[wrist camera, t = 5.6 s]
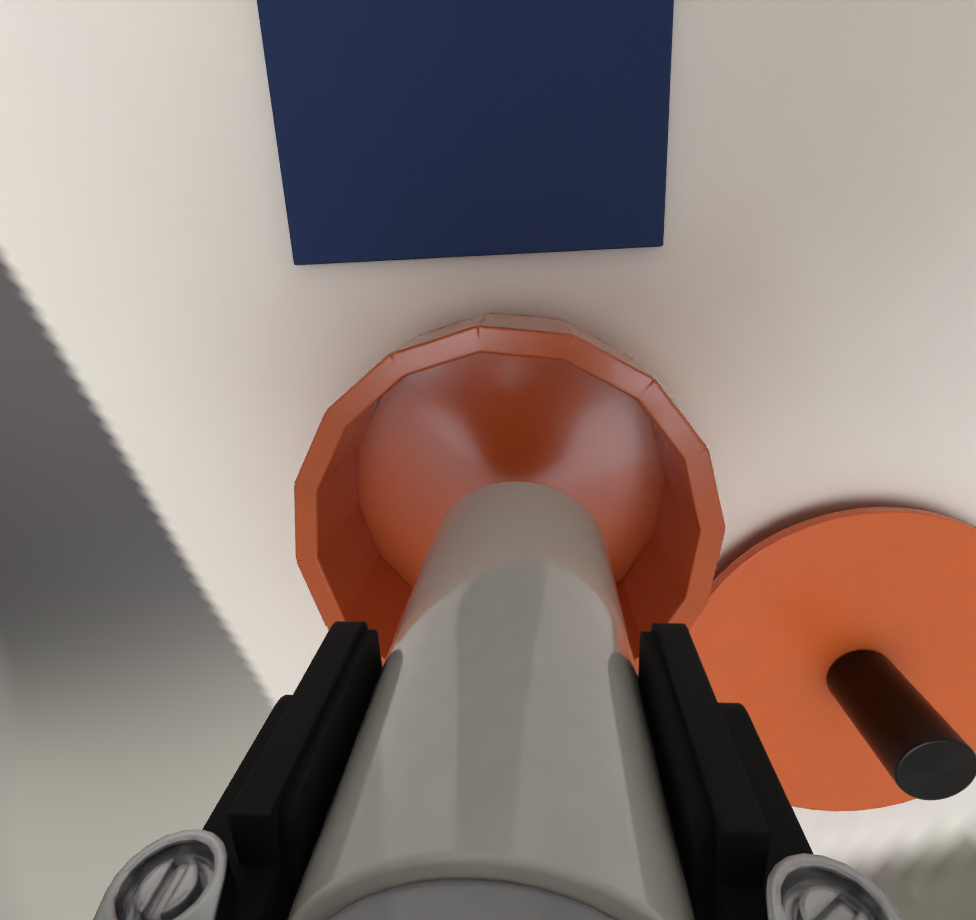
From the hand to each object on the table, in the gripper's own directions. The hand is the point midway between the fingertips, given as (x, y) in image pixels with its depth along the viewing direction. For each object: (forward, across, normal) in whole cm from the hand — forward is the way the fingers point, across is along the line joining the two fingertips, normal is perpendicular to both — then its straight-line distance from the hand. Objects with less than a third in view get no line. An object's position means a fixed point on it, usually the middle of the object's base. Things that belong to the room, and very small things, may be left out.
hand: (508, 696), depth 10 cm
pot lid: (+11, -12, +8) cm, 19 cm away
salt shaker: (+5, 0, 0) cm, 5 cm away
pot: (+12, +1, +1) cm, 12 cm away
